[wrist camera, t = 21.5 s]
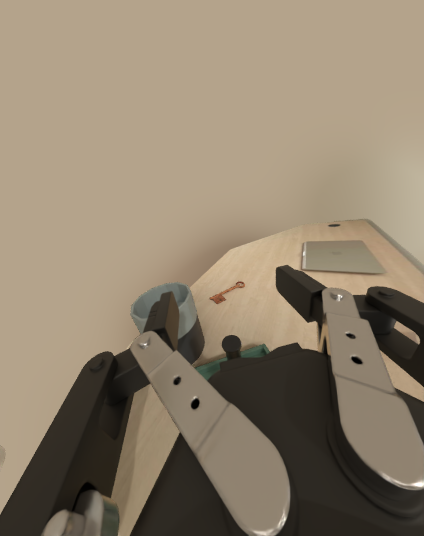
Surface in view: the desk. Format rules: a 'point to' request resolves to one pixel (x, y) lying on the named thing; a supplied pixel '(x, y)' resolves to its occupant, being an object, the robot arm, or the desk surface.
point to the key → (223, 293)
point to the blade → (231, 347)
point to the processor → (188, 320)
